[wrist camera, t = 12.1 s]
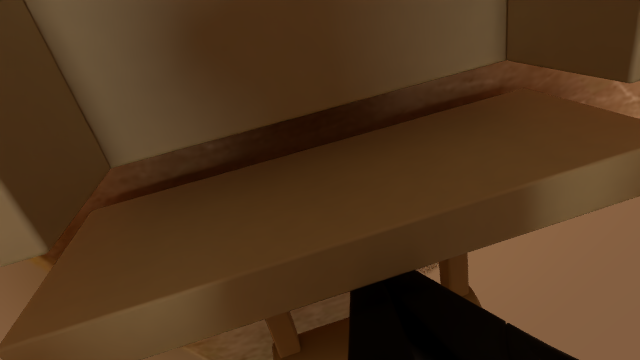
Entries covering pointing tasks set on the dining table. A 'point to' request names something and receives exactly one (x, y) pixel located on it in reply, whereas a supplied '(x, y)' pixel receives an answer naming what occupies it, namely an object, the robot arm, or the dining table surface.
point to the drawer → (285, 157)
